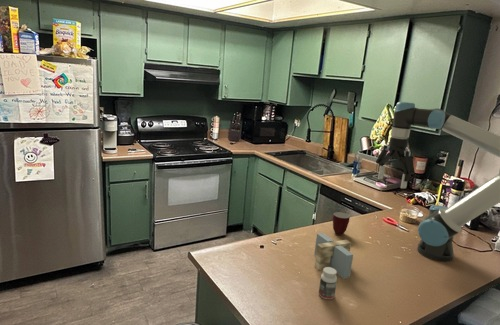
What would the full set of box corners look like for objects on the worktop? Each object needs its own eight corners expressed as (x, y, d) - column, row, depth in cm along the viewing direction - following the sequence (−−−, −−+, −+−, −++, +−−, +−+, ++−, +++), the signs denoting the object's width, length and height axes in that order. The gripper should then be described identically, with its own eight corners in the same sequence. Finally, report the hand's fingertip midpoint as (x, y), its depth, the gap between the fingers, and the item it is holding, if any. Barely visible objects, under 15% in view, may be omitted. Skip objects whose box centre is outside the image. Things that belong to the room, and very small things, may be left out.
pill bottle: (316, 290, 127) (319, 265, 125) (331, 290, 128) (335, 266, 126) (320, 299, 122) (324, 274, 119) (336, 300, 122) (340, 275, 120)
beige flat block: (343, 260, 150) (346, 239, 148) (347, 264, 147) (351, 242, 145) (314, 266, 144) (317, 244, 141) (318, 270, 141) (321, 247, 139)
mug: (349, 240, 171) (352, 221, 168) (332, 238, 171) (335, 219, 169) (345, 231, 181) (348, 213, 179) (329, 229, 182) (332, 211, 179)
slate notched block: (349, 277, 137) (353, 254, 135) (343, 278, 136) (347, 255, 134) (319, 253, 155) (322, 232, 153) (314, 254, 154) (317, 233, 151)
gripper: (429, 143, 144) (420, 191, 149) (384, 132, 166) (377, 175, 171) (417, 143, 141) (407, 192, 146) (372, 132, 163) (365, 176, 168)
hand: (391, 183), depth 158 cm, fingers open, 13 cm apart
